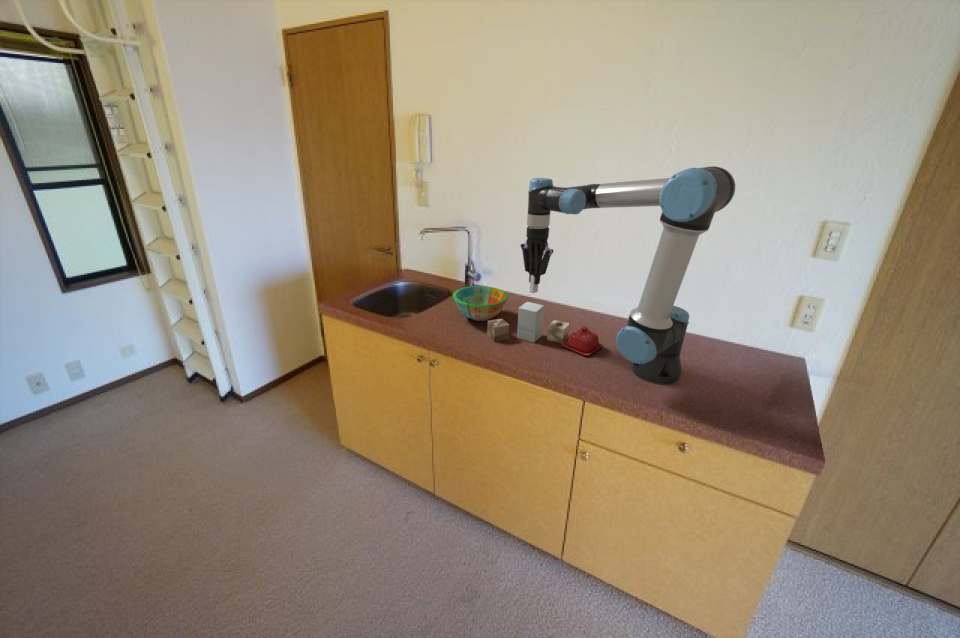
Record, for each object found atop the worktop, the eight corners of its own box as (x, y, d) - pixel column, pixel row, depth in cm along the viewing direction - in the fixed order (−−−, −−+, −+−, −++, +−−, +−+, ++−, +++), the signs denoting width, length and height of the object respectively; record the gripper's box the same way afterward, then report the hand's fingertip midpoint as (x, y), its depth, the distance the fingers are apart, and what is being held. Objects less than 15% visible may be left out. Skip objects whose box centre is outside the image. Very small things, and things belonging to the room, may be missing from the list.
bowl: (474, 302, 188) (474, 281, 184) (517, 315, 176) (518, 293, 172) (442, 319, 172) (441, 296, 167) (486, 334, 160) (487, 310, 156)
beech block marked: (567, 337, 159) (569, 322, 157) (562, 343, 155) (564, 328, 152) (553, 333, 162) (554, 319, 159) (547, 339, 157) (548, 324, 155)
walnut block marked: (508, 339, 157) (509, 324, 155) (494, 341, 155) (494, 326, 152) (501, 332, 162) (502, 317, 160) (487, 335, 160) (487, 320, 157)
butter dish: (559, 347, 152) (562, 326, 149) (577, 337, 160) (580, 317, 156) (586, 359, 145) (590, 337, 142) (604, 348, 153) (607, 327, 149)
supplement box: (542, 335, 160) (545, 305, 155) (533, 343, 154) (536, 312, 149) (525, 330, 164) (527, 300, 158) (516, 338, 158) (518, 307, 153)
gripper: (560, 227, 139) (554, 294, 149) (530, 222, 148) (526, 285, 158) (546, 231, 135) (541, 299, 144) (516, 224, 143) (513, 289, 153)
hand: (533, 291), depth 151 cm, fingers closed
